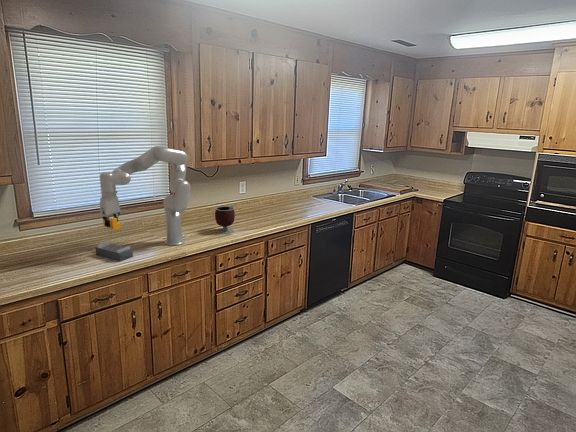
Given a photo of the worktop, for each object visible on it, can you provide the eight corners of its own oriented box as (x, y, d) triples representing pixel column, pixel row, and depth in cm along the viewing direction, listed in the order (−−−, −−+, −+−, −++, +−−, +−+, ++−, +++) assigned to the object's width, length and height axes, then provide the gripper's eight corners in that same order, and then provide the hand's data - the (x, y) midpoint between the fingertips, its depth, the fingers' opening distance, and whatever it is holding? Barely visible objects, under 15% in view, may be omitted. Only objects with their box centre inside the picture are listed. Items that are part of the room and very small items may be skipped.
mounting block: (109, 250, 237) (108, 241, 235) (133, 256, 228) (132, 246, 227) (96, 255, 229) (95, 245, 228) (120, 261, 221) (119, 251, 219)
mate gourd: (219, 235, 272) (218, 207, 267) (212, 229, 284) (212, 203, 279) (239, 232, 279) (239, 205, 274) (232, 227, 291) (232, 201, 286)
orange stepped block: (120, 228, 222) (119, 217, 221) (113, 230, 219) (112, 219, 217) (111, 224, 230) (110, 213, 228) (103, 225, 227) (102, 214, 225)
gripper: (116, 191, 228) (119, 221, 233) (91, 196, 213) (94, 228, 218) (125, 192, 225) (128, 222, 230) (100, 197, 210) (103, 230, 215)
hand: (111, 225), depth 224 cm, fingers closed on orange stepped block, 4 cm apart
